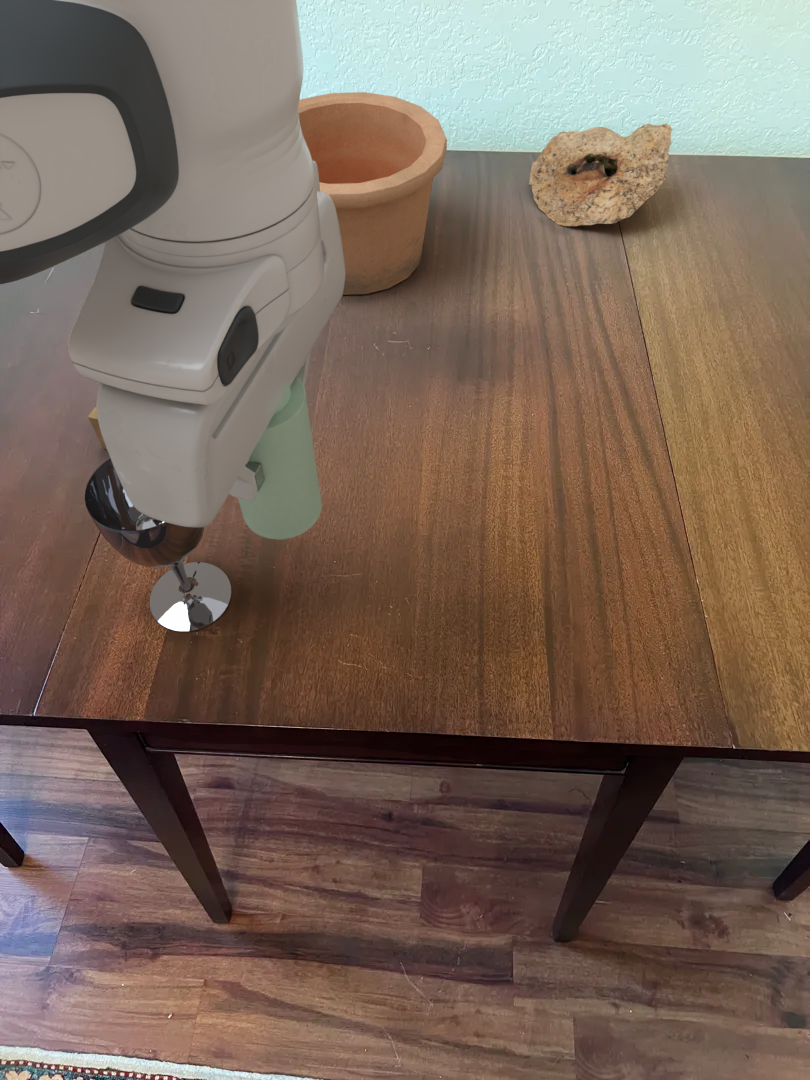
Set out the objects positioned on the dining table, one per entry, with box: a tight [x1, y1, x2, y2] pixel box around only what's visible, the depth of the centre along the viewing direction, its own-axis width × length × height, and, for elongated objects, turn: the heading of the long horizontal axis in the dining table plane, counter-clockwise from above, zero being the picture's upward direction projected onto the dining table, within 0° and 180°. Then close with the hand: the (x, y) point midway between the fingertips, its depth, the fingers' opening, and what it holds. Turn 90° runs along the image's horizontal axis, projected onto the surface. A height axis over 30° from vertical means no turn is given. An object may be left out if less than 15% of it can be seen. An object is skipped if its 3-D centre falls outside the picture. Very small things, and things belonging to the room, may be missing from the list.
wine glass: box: [84, 458, 233, 633], centre depth 62 cm, size 8×8×15 cm
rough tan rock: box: [528, 123, 673, 227], centre depth 101 cm, size 18×14×8 cm
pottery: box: [299, 91, 448, 296], centre depth 91 cm, size 22×22×14 cm
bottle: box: [237, 376, 323, 540], centre depth 45 cm, size 5×5×15 cm
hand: (269, 449), depth 47 cm, fingers closed on bottle, 5 cm apart
